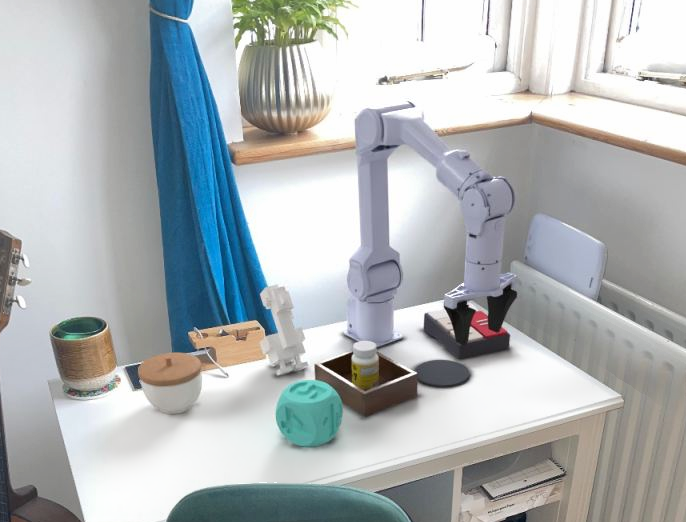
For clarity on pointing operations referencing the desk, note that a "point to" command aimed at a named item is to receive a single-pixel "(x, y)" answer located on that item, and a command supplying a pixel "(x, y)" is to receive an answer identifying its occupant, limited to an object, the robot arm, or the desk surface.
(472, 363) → the desk surface
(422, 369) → the coaster
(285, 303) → the voxel character
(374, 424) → the desk surface
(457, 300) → the robot arm
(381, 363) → the box
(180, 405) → the trinket box
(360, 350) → the supplement bottle
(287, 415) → the decorative dice
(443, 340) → the calculator
